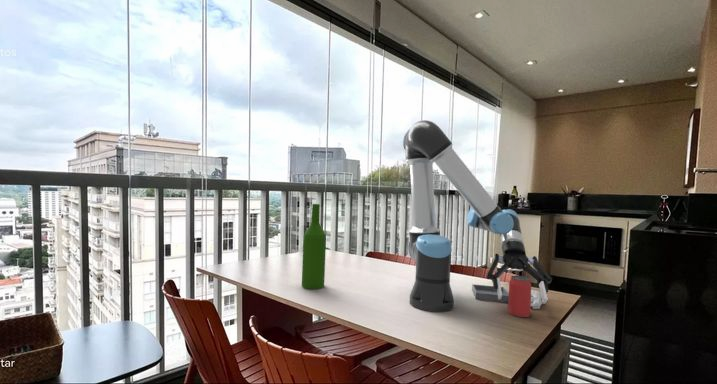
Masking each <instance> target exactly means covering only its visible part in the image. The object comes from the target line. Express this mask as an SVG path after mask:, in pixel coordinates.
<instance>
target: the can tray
mask: <svg viewBox="0 0 717 384" xmlns="http://www.w3.org/2000/svg"><path fill="white" fill-rule="evenodd" d="M501 291H502V297H501V300H500V299H498V294H497V289H494V287H493V285H483V284H473V283H472V284H471V292H472V295H473V296H474V298H475V300H477V301H486V302H487V301H488V302H498V303H507V304H508V303H509V291H508V290H507V289H506V288H505V287H504V286H501Z"/></svg>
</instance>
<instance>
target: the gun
mask: <svg viewBox="0 0 717 384" xmlns="http://www.w3.org/2000/svg"><path fill="white" fill-rule="evenodd" d="M543 304H544V303H543V301H542V297H541V292H540V290H534V289H531V308H532V310H540V309H541V305H543Z"/></svg>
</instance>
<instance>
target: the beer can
mask: <svg viewBox="0 0 717 384" xmlns="http://www.w3.org/2000/svg"><path fill="white" fill-rule="evenodd" d="M508 283H509V284H508V293H509V303H507V304H508V306H507V307H508V308H507V309H508V314H510V315H512V316H514V317H517V318H528V317H530V316H531V311H532V310H531V309H532V307H531V290H532V283H531V279H530V277H528V276H523V275H512V276H511V277H510V280H509V282H508Z"/></svg>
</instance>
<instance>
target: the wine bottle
mask: <svg viewBox="0 0 717 384" xmlns="http://www.w3.org/2000/svg"><path fill="white" fill-rule="evenodd" d="M320 208H321V205H320V204H319V203H312V204H311V223H310V224H309V226H308V227H307V229H306V230H305V231H304V235H303V237H302V238H303V240H302V241H303V243H302V262H301V263H302V265H301V266H302V267H301V270H302V271H301V286H302V288H304V289H307V290H319V289H322V288H324V287H325V279H326V278H325V277H326V276H325V275H326V272H325V271H326V251H327V250H326V249H327V248H326V245H327V237H326V236H327V235H326V233H325V231H324V229H323V227H322V226H321V224H320V212H321V211H320V210H321V209H320Z"/></svg>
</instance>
